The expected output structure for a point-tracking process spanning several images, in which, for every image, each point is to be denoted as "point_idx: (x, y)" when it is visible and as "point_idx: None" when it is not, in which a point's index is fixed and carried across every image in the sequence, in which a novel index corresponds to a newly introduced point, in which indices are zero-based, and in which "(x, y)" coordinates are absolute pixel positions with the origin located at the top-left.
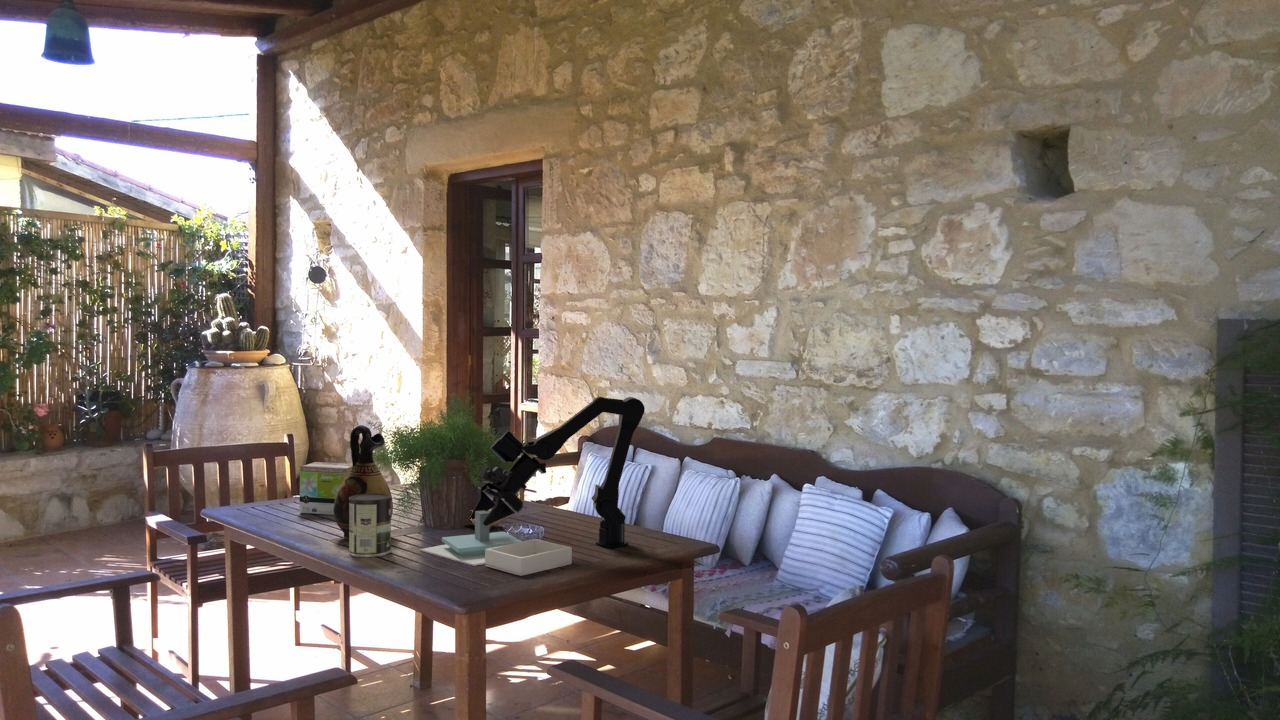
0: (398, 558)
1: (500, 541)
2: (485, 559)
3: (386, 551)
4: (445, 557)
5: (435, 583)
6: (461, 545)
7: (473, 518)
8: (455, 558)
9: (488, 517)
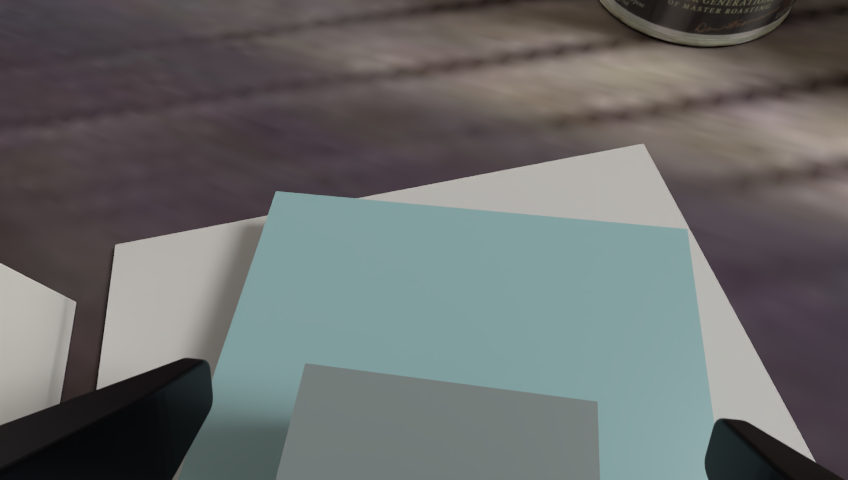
0: (516, 35)
1: None
2: (41, 288)
3: (621, 3)
4: (394, 194)
5: (38, 29)
6: (341, 240)
7: (708, 470)
8: None
9: (73, 406)
